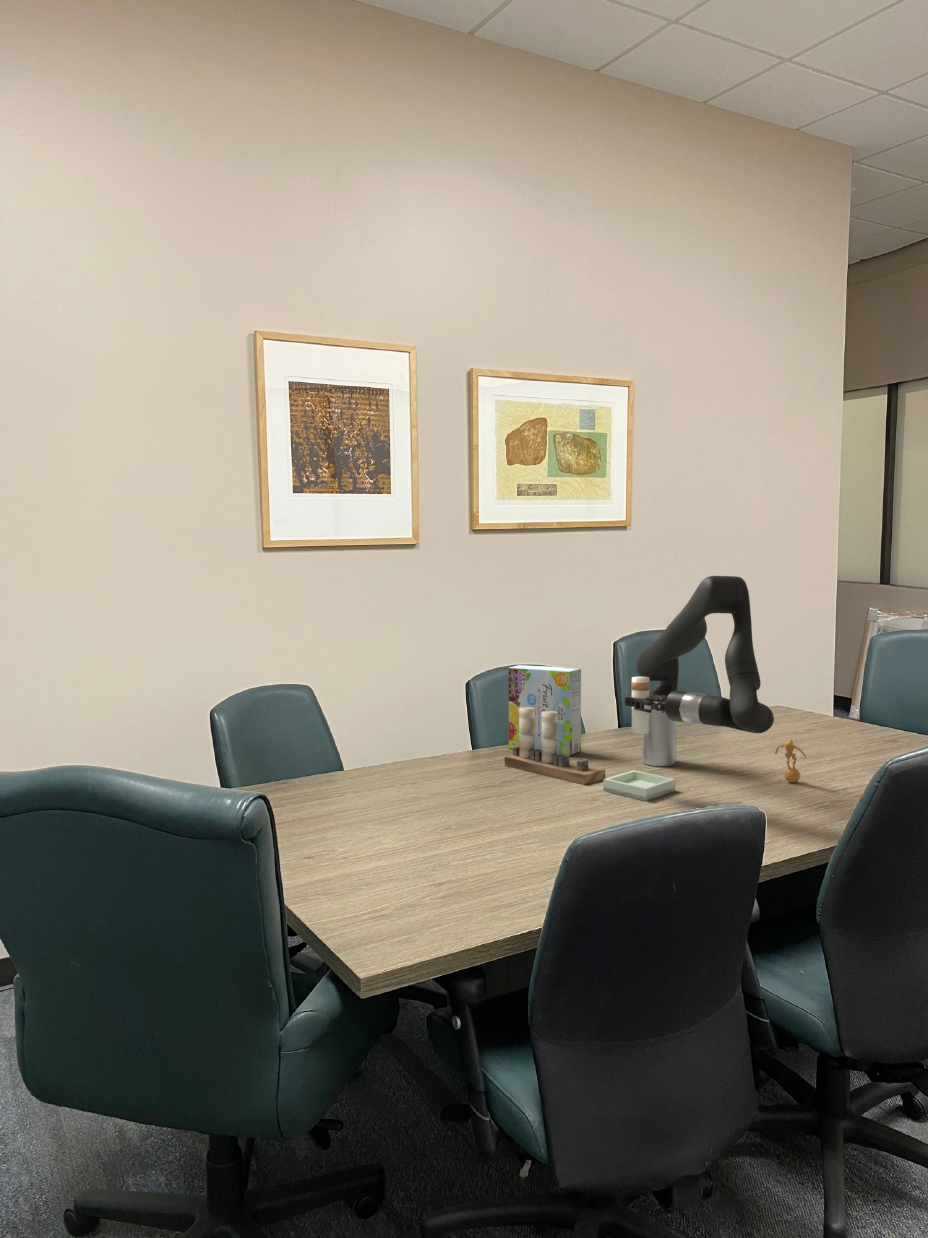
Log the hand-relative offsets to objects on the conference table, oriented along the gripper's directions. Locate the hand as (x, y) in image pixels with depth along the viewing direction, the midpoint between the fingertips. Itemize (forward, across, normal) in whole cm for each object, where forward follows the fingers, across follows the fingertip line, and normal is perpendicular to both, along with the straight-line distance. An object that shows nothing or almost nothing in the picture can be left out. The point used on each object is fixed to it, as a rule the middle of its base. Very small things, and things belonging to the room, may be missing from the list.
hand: (631, 699), depth 225 cm
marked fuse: (-3, 0, +8) cm, 8 cm away
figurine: (-26, -34, +24) cm, 49 cm away
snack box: (+45, -17, +23) cm, 53 cm away
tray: (-2, 0, +23) cm, 23 cm away
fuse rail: (+26, +1, +23) cm, 34 cm away
